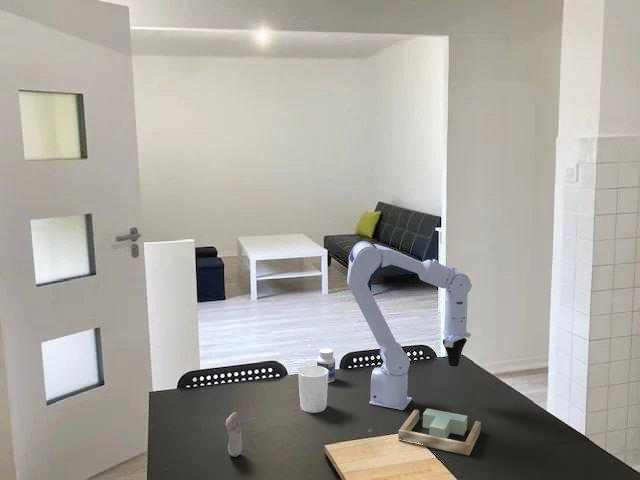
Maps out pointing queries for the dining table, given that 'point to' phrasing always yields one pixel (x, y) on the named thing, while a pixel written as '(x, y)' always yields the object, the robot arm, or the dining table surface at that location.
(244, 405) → the dining table surface
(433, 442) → the dock
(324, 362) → the pill bottle
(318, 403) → the white cup
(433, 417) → the tee
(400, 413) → the dining table surface
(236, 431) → the fossil
